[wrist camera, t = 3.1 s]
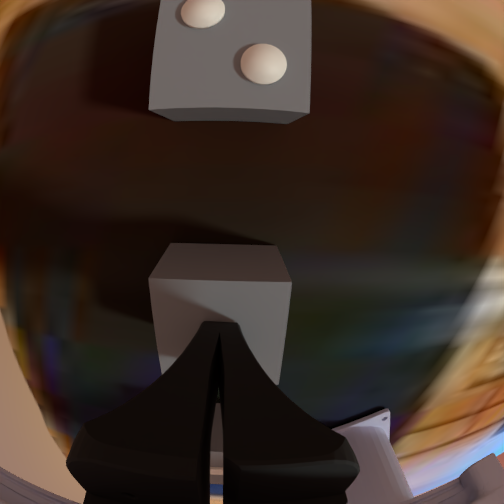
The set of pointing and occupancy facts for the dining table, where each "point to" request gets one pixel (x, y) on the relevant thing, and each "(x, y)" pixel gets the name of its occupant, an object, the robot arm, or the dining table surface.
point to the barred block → (216, 448)
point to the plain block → (221, 298)
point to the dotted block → (232, 60)
